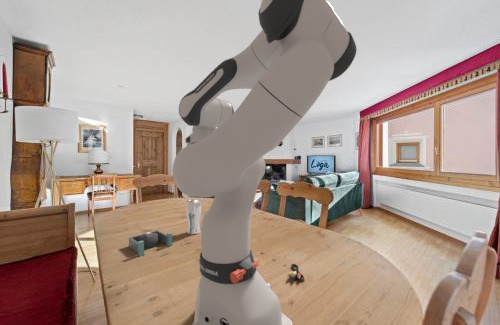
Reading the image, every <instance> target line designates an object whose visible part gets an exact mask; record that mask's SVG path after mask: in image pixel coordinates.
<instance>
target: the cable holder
mask: <svg viewBox="0 0 500 325" xmlns="http://www.w3.org/2000/svg"><path fill="white" fill-rule="evenodd" d="M150 232H151V233H157V234H158V242H161V243H163V244H165V245H166V246H167V247H172V246H173V233H172V232H168V233H164V232H162V231H159V230H152V231H150ZM142 234H143V233H142ZM142 234H138V235H133V236H131V237H128V247H129V248H130V249H132V250H133V251H134V252H135V253H137V255H138V257H142V256H145V249H144V241H139V236H140V235H142Z"/></svg>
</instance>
